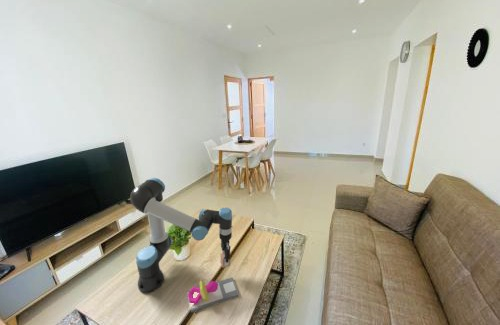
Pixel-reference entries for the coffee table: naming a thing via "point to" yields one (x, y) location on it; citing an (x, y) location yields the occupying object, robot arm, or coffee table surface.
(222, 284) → the foundation slab
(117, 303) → the coffee table surface
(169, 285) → the coffee table surface
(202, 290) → the toy
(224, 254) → the terracotta block
